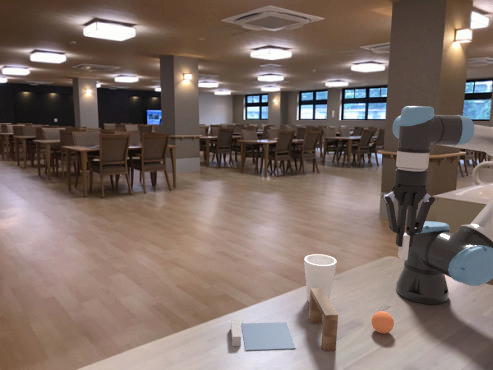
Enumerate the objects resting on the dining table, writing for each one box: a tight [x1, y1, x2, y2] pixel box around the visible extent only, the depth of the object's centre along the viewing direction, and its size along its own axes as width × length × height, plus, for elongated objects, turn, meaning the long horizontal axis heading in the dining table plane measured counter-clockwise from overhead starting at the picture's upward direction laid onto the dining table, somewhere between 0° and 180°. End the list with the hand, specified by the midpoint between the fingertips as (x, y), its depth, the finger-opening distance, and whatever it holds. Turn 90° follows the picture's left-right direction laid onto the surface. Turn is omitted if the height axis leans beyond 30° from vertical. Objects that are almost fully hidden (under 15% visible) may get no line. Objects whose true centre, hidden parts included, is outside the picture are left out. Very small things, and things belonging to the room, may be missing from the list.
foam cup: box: [303, 253, 337, 304], centre depth 120 cm, size 10×9×13 cm
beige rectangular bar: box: [230, 319, 242, 347], centre depth 101 cm, size 2×8×2 cm, turn 5°
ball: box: [371, 310, 395, 335], centre depth 104 cm, size 6×6×6 cm
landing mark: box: [241, 321, 296, 352], centre depth 102 cm, size 12×12×1 cm
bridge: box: [308, 288, 339, 352], centre depth 103 cm, size 3×14×9 cm, turn 5°
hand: (402, 258), depth 106 cm, fingers closed
